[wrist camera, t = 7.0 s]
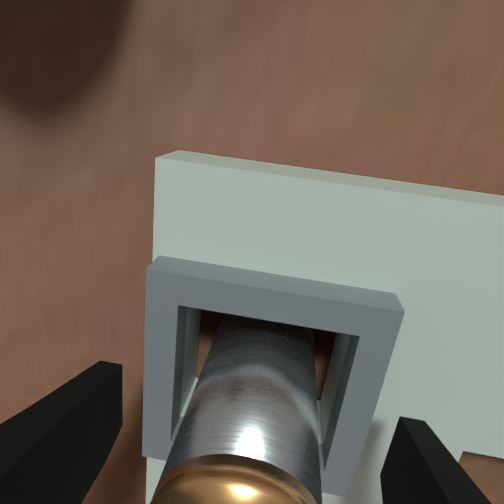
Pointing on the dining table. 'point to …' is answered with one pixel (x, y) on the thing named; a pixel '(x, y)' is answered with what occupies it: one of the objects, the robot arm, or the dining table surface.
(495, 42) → the dining table surface
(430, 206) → the board
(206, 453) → the silver and gold cylinder
